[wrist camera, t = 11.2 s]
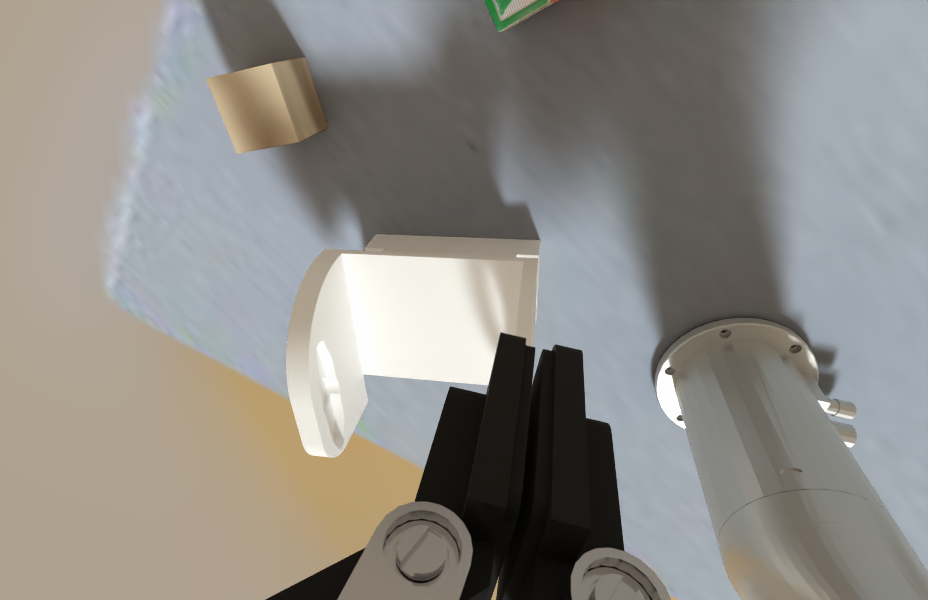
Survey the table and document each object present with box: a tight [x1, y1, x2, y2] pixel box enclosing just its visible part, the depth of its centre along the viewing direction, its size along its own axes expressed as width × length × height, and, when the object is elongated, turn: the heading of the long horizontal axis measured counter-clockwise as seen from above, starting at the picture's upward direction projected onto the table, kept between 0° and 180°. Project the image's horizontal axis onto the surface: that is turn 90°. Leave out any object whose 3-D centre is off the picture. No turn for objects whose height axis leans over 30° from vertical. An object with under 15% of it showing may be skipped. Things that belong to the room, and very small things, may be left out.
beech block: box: [206, 57, 328, 154], centre depth 35 cm, size 5×5×5 cm
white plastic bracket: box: [286, 234, 540, 458], centre depth 35 cm, size 14×13×18 cm
